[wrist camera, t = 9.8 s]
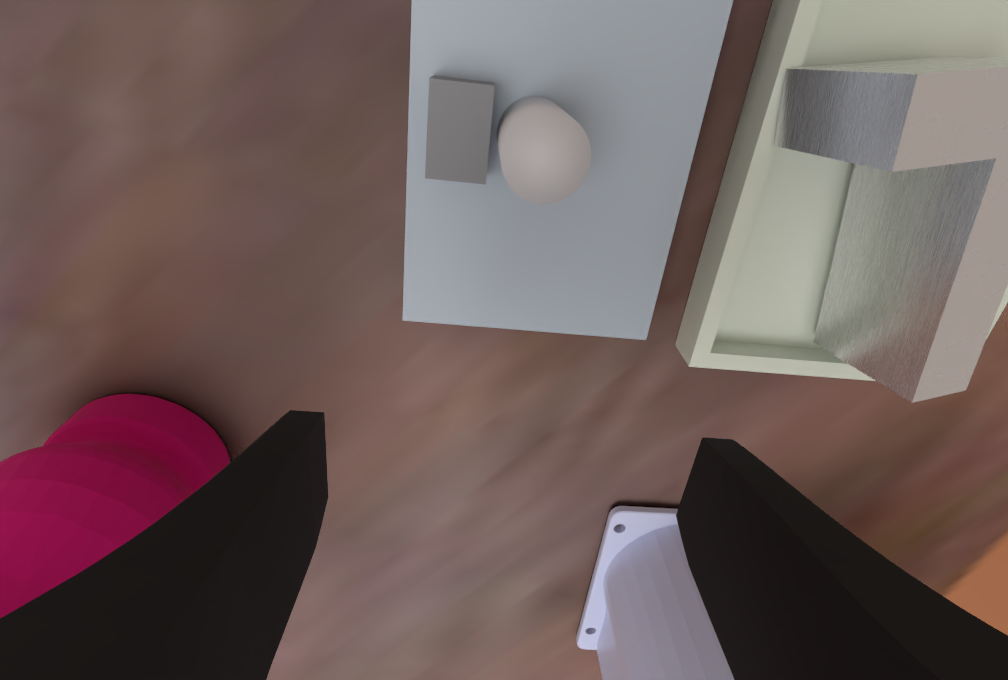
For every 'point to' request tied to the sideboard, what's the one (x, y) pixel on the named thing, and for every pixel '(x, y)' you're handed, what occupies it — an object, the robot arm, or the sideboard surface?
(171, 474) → the pepper mill
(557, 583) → the sideboard surface
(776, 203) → the tray
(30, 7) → the sideboard surface
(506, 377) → the sideboard surface
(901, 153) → the hook
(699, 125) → the vise block
